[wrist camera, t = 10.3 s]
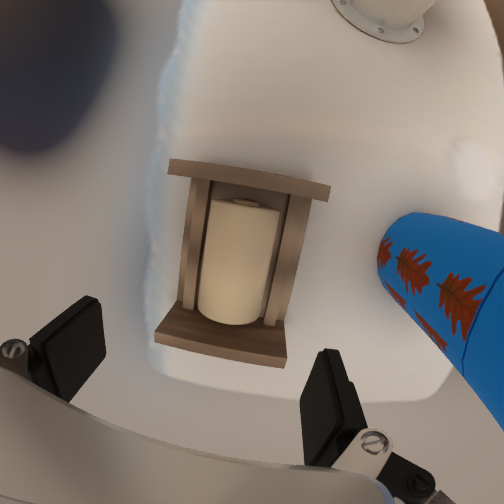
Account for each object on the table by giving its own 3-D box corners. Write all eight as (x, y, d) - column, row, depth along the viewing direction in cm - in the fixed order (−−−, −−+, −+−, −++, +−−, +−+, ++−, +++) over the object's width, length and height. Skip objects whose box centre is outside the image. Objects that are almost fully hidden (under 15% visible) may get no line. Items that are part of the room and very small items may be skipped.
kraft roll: (220, 193, 27) (204, 196, 21) (280, 204, 26) (281, 209, 20) (205, 293, 29) (189, 319, 24) (260, 305, 29) (256, 333, 23)
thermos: (459, 231, 27) (619, 308, 2) (426, 308, 29) (546, 440, 5) (396, 195, 26) (613, 256, 2) (360, 284, 29) (489, 472, 5)
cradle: (196, 164, 27) (169, 158, 19) (313, 184, 27) (330, 186, 19) (179, 305, 31) (154, 341, 23) (280, 325, 31) (284, 368, 23)
